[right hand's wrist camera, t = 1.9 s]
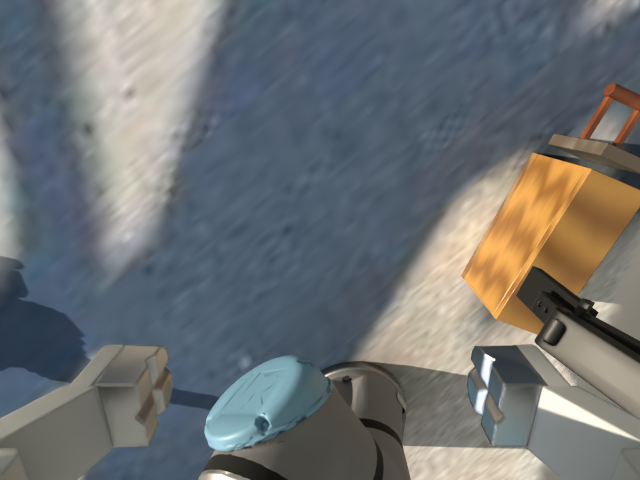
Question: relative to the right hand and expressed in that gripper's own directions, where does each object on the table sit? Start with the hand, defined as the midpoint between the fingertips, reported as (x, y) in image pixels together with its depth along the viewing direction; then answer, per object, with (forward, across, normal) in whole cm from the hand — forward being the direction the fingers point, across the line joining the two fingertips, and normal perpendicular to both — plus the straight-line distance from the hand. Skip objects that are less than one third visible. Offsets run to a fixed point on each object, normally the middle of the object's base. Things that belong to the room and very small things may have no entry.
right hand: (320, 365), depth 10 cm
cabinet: (+38, -24, +9) cm, 46 cm away
